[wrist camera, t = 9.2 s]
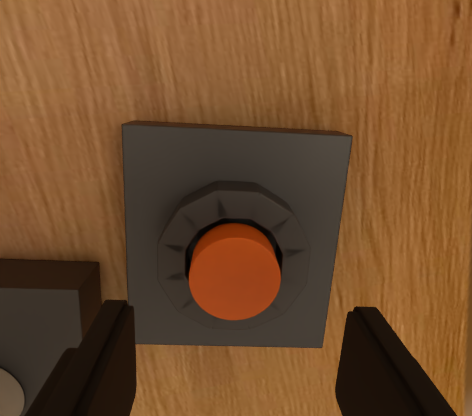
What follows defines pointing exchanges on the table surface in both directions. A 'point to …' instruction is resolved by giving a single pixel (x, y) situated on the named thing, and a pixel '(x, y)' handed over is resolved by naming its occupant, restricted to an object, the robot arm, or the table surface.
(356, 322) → the robot arm
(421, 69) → the table surface
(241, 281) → the button
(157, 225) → the grey piece
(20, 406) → the temp dial
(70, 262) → the dial console
